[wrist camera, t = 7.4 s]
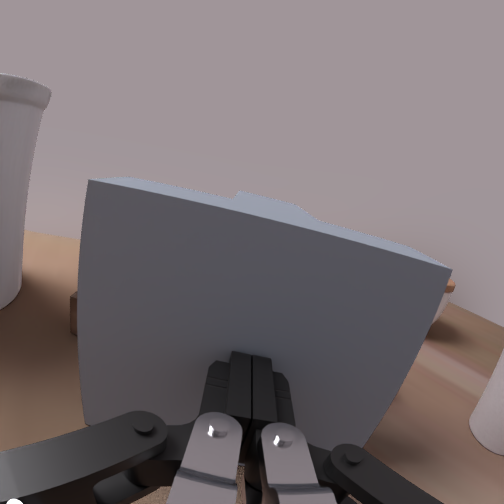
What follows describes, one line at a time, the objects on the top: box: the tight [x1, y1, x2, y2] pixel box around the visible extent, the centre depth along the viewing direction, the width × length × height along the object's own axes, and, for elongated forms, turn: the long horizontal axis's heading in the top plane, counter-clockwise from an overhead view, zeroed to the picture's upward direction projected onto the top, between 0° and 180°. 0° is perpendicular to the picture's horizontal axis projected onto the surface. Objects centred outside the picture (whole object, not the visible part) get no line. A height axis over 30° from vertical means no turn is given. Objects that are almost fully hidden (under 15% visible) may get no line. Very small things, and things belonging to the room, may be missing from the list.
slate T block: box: [77, 177, 452, 466], centre depth 17 cm, size 14×12×12 cm
